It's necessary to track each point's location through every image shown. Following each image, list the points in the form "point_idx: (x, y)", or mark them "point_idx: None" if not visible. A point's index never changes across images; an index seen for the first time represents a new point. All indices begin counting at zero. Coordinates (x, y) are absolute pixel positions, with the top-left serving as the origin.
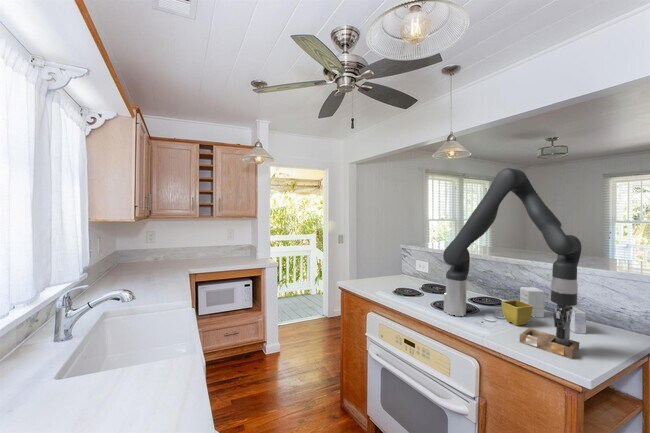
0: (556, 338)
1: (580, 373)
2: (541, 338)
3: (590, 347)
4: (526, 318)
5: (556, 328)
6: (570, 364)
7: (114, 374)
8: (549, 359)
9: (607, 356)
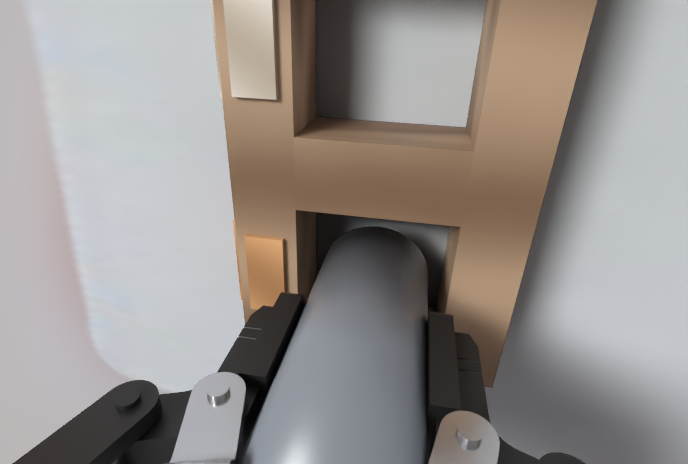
0: (326, 269)
1: (119, 343)
2: (476, 79)
3: (620, 389)
4: None
5: (303, 342)
6: (181, 303)
7: None
8: (130, 204)
9: None
